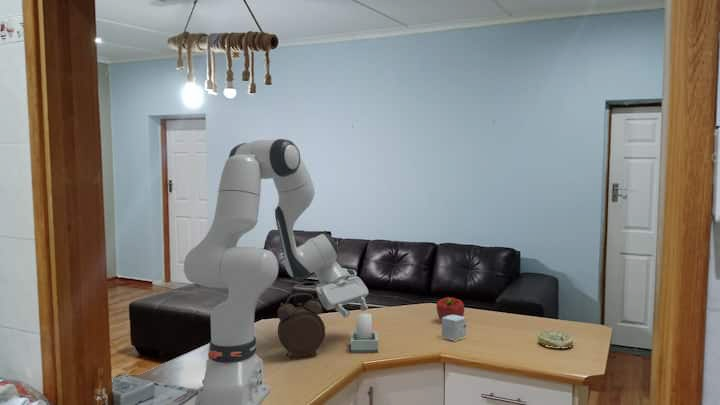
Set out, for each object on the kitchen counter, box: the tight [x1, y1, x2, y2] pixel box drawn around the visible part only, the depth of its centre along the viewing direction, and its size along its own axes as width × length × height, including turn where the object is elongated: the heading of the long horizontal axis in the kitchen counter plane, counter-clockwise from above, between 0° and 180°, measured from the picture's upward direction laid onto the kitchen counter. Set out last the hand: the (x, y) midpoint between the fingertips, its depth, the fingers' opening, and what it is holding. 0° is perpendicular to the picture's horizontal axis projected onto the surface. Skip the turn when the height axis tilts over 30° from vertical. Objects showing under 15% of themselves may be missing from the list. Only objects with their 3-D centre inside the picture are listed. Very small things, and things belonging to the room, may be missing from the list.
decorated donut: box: [537, 330, 574, 348], centre depth 173 cm, size 10×11×4 cm
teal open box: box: [350, 331, 379, 354], centre depth 172 cm, size 9×9×4 cm
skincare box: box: [441, 314, 467, 340], centre depth 181 cm, size 6×6×7 cm
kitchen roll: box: [355, 312, 373, 340], centre depth 171 cm, size 5×5×10 cm
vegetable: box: [436, 296, 465, 322], centre depth 198 cm, size 11×10×10 cm
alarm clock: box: [276, 292, 326, 359], centre depth 165 cm, size 14×7×20 cm, turn 111°
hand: (356, 313), depth 172 cm, fingers open, 8 cm apart
